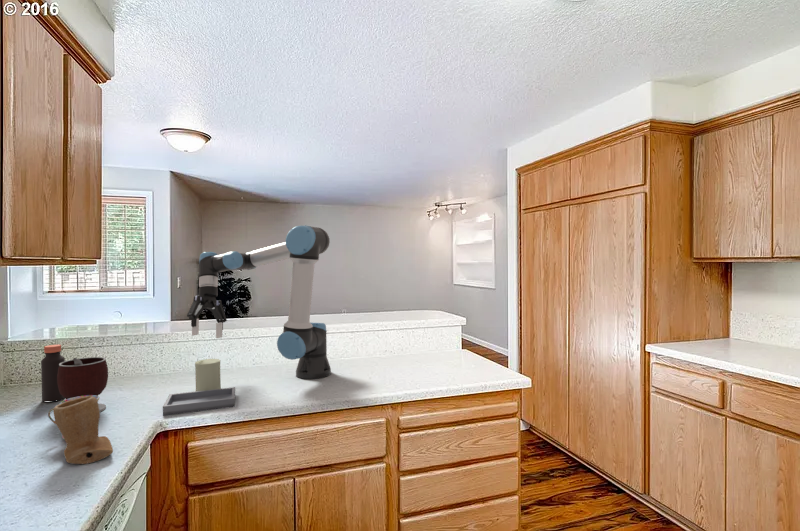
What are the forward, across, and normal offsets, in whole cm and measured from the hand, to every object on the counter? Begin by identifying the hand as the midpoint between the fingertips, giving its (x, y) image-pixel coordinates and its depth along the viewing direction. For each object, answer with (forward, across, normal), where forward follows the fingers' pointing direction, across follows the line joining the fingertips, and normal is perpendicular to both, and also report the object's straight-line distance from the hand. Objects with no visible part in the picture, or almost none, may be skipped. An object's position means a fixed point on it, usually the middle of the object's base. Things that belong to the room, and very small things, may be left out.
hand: (207, 336), depth 180 cm
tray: (+28, +18, +14) cm, 36 cm away
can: (+23, +5, +5) cm, 24 cm away
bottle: (+20, +30, -43) cm, 56 cm away
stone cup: (+38, +58, +13) cm, 71 cm away
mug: (+34, +50, -1) cm, 61 cm away
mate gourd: (+26, +36, -19) cm, 48 cm away
